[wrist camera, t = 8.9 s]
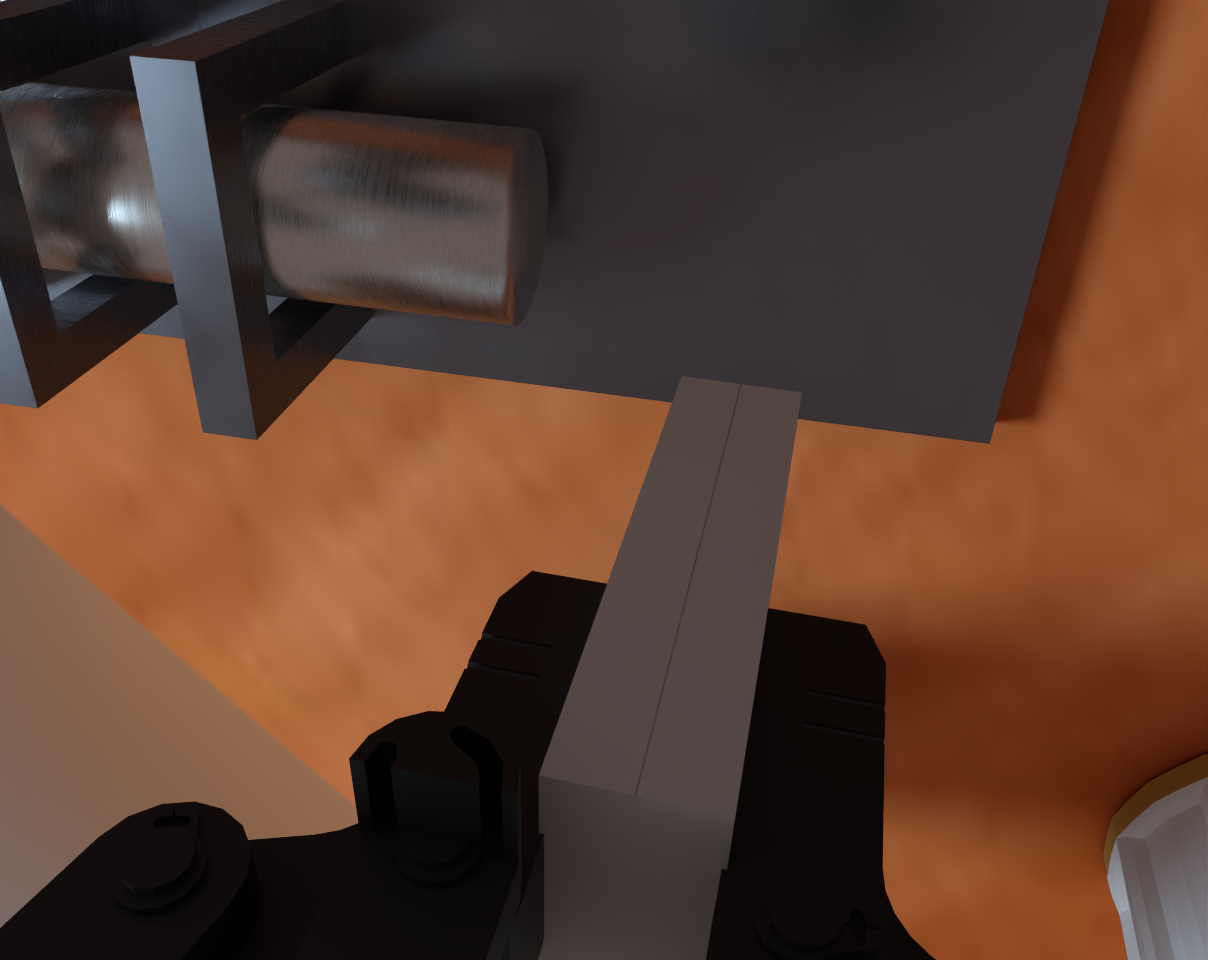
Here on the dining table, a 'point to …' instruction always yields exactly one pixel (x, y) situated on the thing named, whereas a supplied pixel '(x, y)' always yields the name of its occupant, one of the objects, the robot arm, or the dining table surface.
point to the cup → (1163, 865)
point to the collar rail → (596, 192)
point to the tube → (301, 201)
